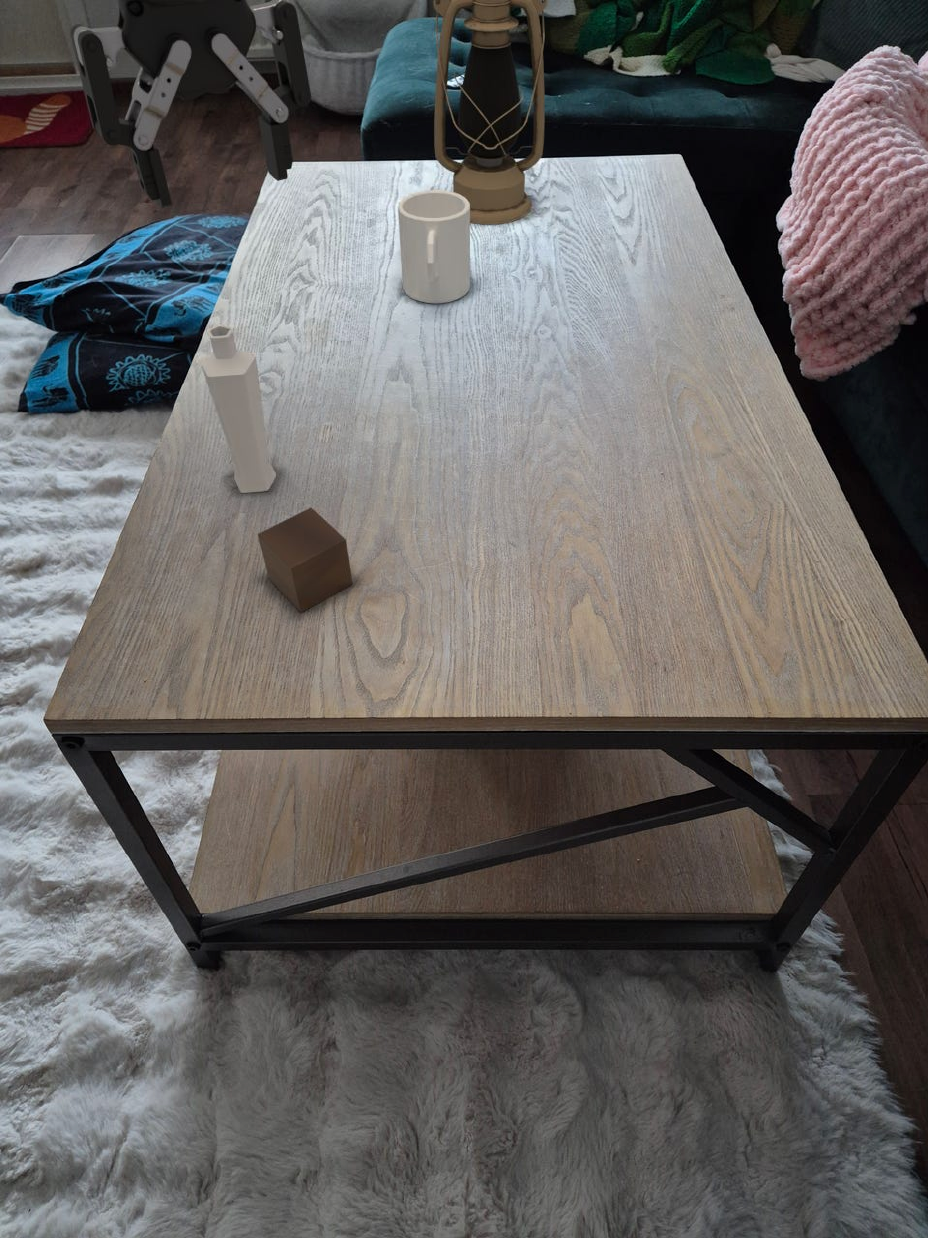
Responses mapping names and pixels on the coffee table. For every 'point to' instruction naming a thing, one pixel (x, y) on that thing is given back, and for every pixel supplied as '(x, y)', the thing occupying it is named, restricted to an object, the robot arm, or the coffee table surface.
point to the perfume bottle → (239, 408)
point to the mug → (435, 245)
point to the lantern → (490, 107)
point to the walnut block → (306, 559)
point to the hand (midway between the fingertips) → (221, 189)
